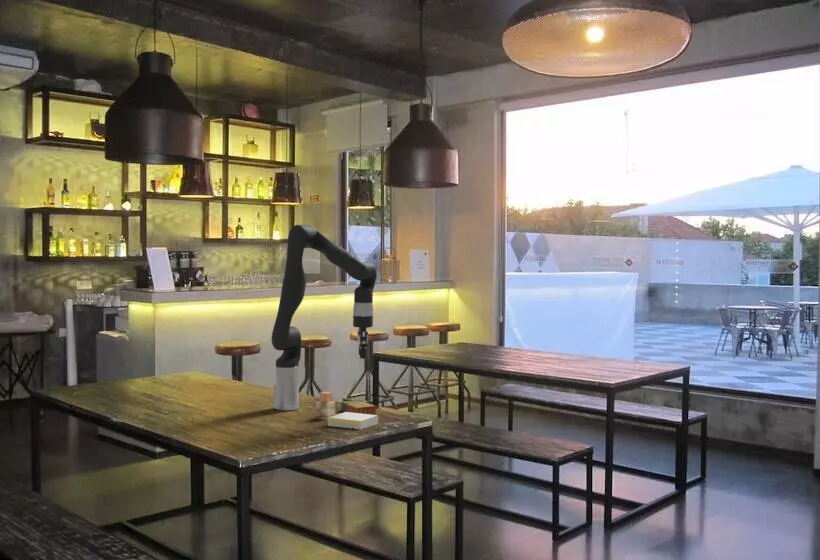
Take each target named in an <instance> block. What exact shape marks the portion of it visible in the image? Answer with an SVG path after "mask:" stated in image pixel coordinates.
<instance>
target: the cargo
mask: <svg viewBox="0 0 820 560" xmlns="http://www.w3.org/2000/svg"><path fill="white" fill-rule="evenodd" d="M319 401H320V402H323V403H329V402H332V401H333V392H332V391H322V392H319Z"/></svg>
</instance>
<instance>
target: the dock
mask: <svg viewBox="0 0 820 560" xmlns="http://www.w3.org/2000/svg"><path fill="white" fill-rule="evenodd" d="M377 424H379V415H377V414H376V415H370V414H361V413H351V412H342V413H339V414H336V415H334V416H331V417H328V420H327V426H328V427H336V428H337V427H338V428H345V429H352V428H354V430H364V429H366V428H370V427H372V426H374V425H377ZM363 428H364V429H363Z"/></svg>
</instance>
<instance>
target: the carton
mask: <svg viewBox="0 0 820 560" xmlns="http://www.w3.org/2000/svg"><path fill="white" fill-rule="evenodd" d="M340 404H341V405H340V407H341V409H340V411H341V412H342V413H344V412H351V413H361V414H370V415H377V405H374V404H372V403H368V402H365V401H363V400H360V399H355V400H346V401H345V400H344V401H341V402H340Z"/></svg>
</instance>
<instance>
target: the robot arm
mask: <svg viewBox="0 0 820 560" xmlns="http://www.w3.org/2000/svg"><path fill="white" fill-rule="evenodd" d="M286 246H287V250H286V261H285V269H284V275H283V279H282V286H281V291H280V299H279V302H278V303H279V304H278V309H277V314H276V317H275V318H276V319H275V320H274V321H275V322H274V325H273V329H272V332H271V344H272V346H273V347H272V348H274V349H275V350H276V351H282V354H281V355H280V356H278V358H277V359H275V384H273V409H275V410H277V411H295V410H298V409H299V407H300V406H299V404H300V401H299V398H300V397H299V396H300V395H299V393H300V392H299V391H300V388H299V387H300V385H299V382H300V380H299V377H300V376H299V374H300V373H299V369H300V367H299V365H300V364H299V363H300V360H301V358H302V357H301V356H302V354H301V353H302V335H301V332H300V330H299V328H298V327H296V326H291V324H292V323H291V322H292V319H293V316H294V315H295V313H296V311H297V310H298V308H299V307H300V306H301V304H302V302H303V300H304V297H305V293H306V287H307V277H306V274H305V269H304V266H303V257H304V252H305V251H304V250H305V249H313V250H314V251H318V252H319V253H322V254H323V255H324V256H325V257H326V258H327V260H328V261H329V262H330V263H331V264H332V265H335V266H336V267H337V268H339V269H341V270H343V271H344V272H346V273H347V275H349V276H350V278H352V279H354V280H357V281H359V285H358V286H357V287H355V289H354V293H353V294H354V297H353V299H354V300H353V302H354V303H353V310H352V319H353V320H352V326H353V327H354V328H358V331H356V334H357V343H358V344H357V345H358V355H359V358H360V360H361V359H364V360H365V359H366V358H367V348H368V339H369V332H368V331H367V328H372V327H374V305H373V303H374V302H373V298H374V297H373V296H374V295H373V291H374V289H375V284H376V281H377V273H378V272H377V268H376V267H377V266H375V264H374V263H372V262H370V261H360V260H358V259H357V258H356V256H355V255H354V254H353V253H351V252H350V251H348V250H347V249H344V248H343V247H341V246H339V245H337V244H336V243H334V242H333V241H331V240H330V239H329V238H328V237H326V236H325V235H324V234H323V233H321V232H320V231H319V230H318V229H317V228H315V227H313V226H312V225H310V224H295V225H293V226H292V227H291V228H290V230H289V232H288V236H287V245H286Z"/></svg>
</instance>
